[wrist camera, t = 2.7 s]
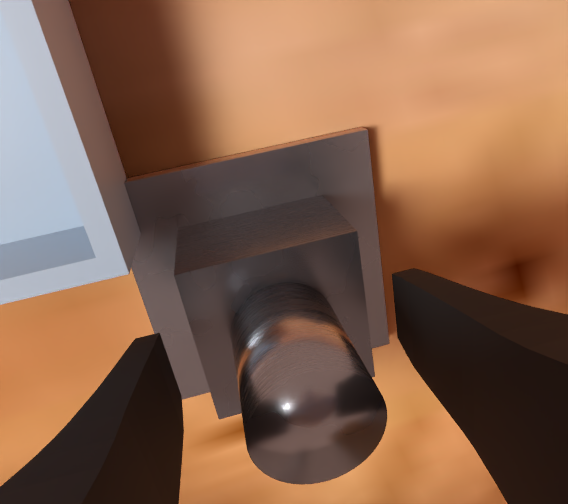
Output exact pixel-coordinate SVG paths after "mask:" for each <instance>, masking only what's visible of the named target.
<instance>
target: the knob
mask: <svg viewBox="0 0 568 504" xmlns="http://www.w3.org/2000/svg"><path fill="white" fill-rule="evenodd" d="M174 277H175V280H176V284H177V287H178V290H179V293H180V296H181V300H182V303H183V306H184V309H185V312H186V316H187V319H188V322H189V325H190V328H191V332H192V335H193V338H194V341H195V344H196V348H197V351H198V354H199V357H200V360H201V364H202V367H203V370H204V373H205V376H206V380H207V383H208V386H209V389H210V392H211V396H212V399H213V402H214V405H215V408H216V412H217V415H218V418H219V419H222V418H226V417H230V416H233V415H237V414H240V413H242V418H243V425H244V432H245V439H246V445H247V450H248V453H249V455H250V458H251V459H252V461H253V463H254V464H255V465H256V466H257V467H258V468H259V469H260V470H261V471H262V472H263V473H265V474H266V475H268V476H270V477H271V478H274V479H276V480H279V481H282V482H286V483H292V484H314V483H320V482H324V481H328V480H331V479H334V478H337V477H339V476H341V475H343V474H345V473H347V472H349V471H351V470H352V469H354V468H355V467H357V466H358V465H360V464H361V463H362V462H363V461H364V460H365V459H367V458H368V456H369V455H370V454H371V453H372V452H373V451H374V449H375V448H376V447H377V445H378V444H379V442H380V440H381V438H382V436H383V434H384V431H385V427H386V422H387V409H386V404H385V401H384V399H383V396H382V395H381V393H380V391H379V389H378V388H377V386H376V384H375V382H374V381H373V379H372V377H375V372H374V364H373V356H372V348H371V339H370V331H369V323H368V315H367V306H366V298H365V290H364V282H363V273H362V265H361V257H360V249H359V240H358V232H357V230H356V229H355V228H354V227H353V226H352V225H351V224H350V223H349V222H348V221H347V220H346V219H345V218H344V217H343V216H342V215H341V214H340V213H339V212H338V211H337V210H336V209H335V208H334V207H333V206H332V204H331V203H330V202H329V201H328V200H327V199H326V198H325V197H324V196H323V195H319V196H315V197H310V198H306V199H302V200H297V201H293V202H289V203H284V204H280V205H276V206H272V207H267V208H263V209H259V210H254V211H250V212H246V213H241V214H237V215H233V216H228V217H224V218H220V219H215V220H211V221H207V222H202V223H198V224H194V225H190V226H185V227H181V228H178V231H177V243H176V256H175V268H174Z"/></svg>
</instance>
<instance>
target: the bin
mask: <svg viewBox="0 0 568 504" xmlns="http://www.w3.org/2000/svg"><path fill="white" fill-rule="evenodd" d="M125 180H126V175H125V171H124V168H123V165H122V162H121V159H120V156H119V153H118V150H117V147H116V144H115V141H114V138H113V135H112V132H111V129H110V126H109V123H108V120H107V117H106V114H105V111H104V107H103V104H102V101H101V98H100V95H99V92H98V89H97V86H96V83H95V80H94V77H93V74H92V71H91V68H90V65H89V62H88V59H87V56H86V53H85V50H84V46H83V43H82V40H81V37H80V34H79V31H78V28H77V25H76V22H75V19H74V16H73V13H72V10H71V7H70V4H69V1H68V0H0V305H1V304H5V303H9V302H14V301H18V300H22V299H26V298H30V297H34V296H39V295H43V294H47V293H51V292H55V291H60V290H64V289H68V288H72V287H76V286H80V285H85V284H89V283H93V282H97V281H101V280H106V279H110V278H114V277H118V276H122V275H126V274H129V272H130V269H131V266H132V262H133V259H134V255H135V252H136V248H137V245H138V242H139V238H140V235H141V233H140V230H139V227H138V224H137V220H136V217H135V214H134V211H133V208H132V205H131V202H130V199H129V196H128V193H127V190H126V187H125V184H124V182H125Z"/></svg>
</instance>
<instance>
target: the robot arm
mask: <svg viewBox="0 0 568 504" xmlns="http://www.w3.org/2000/svg"><path fill="white" fill-rule="evenodd" d="M392 280H393V291H394V302H395V313H396V324H397V335H398V339H399V341H400V343H401V345H402V346H403V348H404V350H405V352H406V354H407V356H408V357H409V359H410V361H411V363H412V364H413V366H414V368H415V369H416V370H417V372H418V373H419V375H420V376H421V377H422V379H423V380H424V381H425V383H426V384H427V385H428V387H429V388H430V389H431V391H432V392H433V393H434V395H435V396H436V397H437V398H438V400H439V401H440V402H441V404H442V405H443V406H444V408H445V409H446V410H447V412H448V413H449V414H450V415H451V417H452V418H453V419H454V421H455V422H456V423H457V425H458V426H459V427H460V429H461V430H462V431H463V432H464V434H465V435H466V437H467V438H468V440H469V441H470V443H471V444H472V445H473V447H474V448H475V450H476V452H477V453H478V455H479V456H480V458H481V460H482V461H483V463H484V465H485V466H486V468H487V470H488V471H489V473H490V474H491V476H492V478H493V479H494V481H495V483H496V484H497V486H498V488H499V490H500V491H501V493H502V495H503V496H504V498H505V500H506V502H507V503H508V504H568V315H567V314H562V313H558V312H553V311H549V310H544V309H540V308H535V307H531V306H527V305H523V304H520V303H516V302H513V301H510V300H506V299H503V298H499V297H496V296H493V295H490V294H487V293H484V292H481V291H478V290H475V289H472V288H469V287H466V286H464V285H461V284H458V283H455V282H453V281H450V280H447V279H444V278H442V277H439V276H436V275H433V274H431V273H428V272H425V271H422V270H418V269H414V268H413V269H409V270H405V271H401V272H397V273H393V274H392ZM183 434H184V428H183V410H182V396H181V393H180V390H179V387H178V384H177V381H176V378H175V375H174V373H173V370H172V367H171V364H170V361H169V358H168V355H167V352H166V350H165V347H164V344H163V341H162V338H161V335H160V333H156V334H152V335H148V336H144V337H141V338H137V339H135V340H134V341H133V342H132V344H131V345H130V346H129V348H128V349H127V350H126V352H125V353H124V354H123V356H122V357H121V358H120V360H119V361H118V362H117V364H116V365H115V367H114V368H113V369H112V370H111V372H110V373H109V374H108V376H107V377H106V378H105V380H104V381H103V382H102V384H101V385H100V386H99V387H98V389H97V390H96V391H95V392H94V394H93V395H92V396H91V397H90V398H89V399H88V401H87V402H86V403H85V404H84V405H83V407H82V408H81V409H80V410H79V411H78V412H77V414H76V415H75V416H74V417H73V418H72V419H71V421H70V422H69V423H68V424H67V425H66V426H65V427H64V428H63V429H62V430H61V431H60V432H59V433H58V434H57V436H56V437H55V438H54V439H53V440H52V441H51V442H49V443H48V444H47V445H46V446H45V447H44V448H43V449H42V450H41V451H40V452H39V453H38V454H37V455H36V456H35V457H34V458H33V459H32V460H31V461H30V462H29V463H27V464H26V465H25V466H24V467H23V468H22V469H20V470H19V471H18V472H17V473H16V474H15V475H14V476H12V477H11V478H10V479H9V480H8V481H7V482H5V483H4V484H3V485H2V486H1V487H0V504H179V490H180V477H181V464H182V449H183Z"/></svg>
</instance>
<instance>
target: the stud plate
mask: <svg viewBox="0 0 568 504" xmlns="http://www.w3.org/2000/svg"><path fill="white" fill-rule="evenodd" d="M124 184H125V187H126V190H127V193H128V196H129V199H130V202H131V205H132V208H133V211H134V214H135V217H136V220H137V224H138V227H139V230H140V233H141V235H140V238H139V242H138V245H137V248H136V252H135V255H134V259H133V262H132V266H131V268H132V271H133V274H134V276H135V279H136V282H137V285H138V288H139V291H140V293H141V296H142V299H143V302H144V305H145V308H146V310H147V313H148V316H149V319H150V322H151V325H152V328H153V330H154V333H155V334H156V333H160V335H161V338H162V341H163V344H164V347H165V350H166V352H167V355H168V358H169V361H170V364H171V367H172V370H173V373H174V375H175V378H176V381H177V384H178V387H179V390H180V393H181V396H182V399H186V398H189V397H193V396H197V395H201V394H204V393H208V392H210V389H209V386H208V383H207V380H206V376H205V373H204V370H203V367H202V364H201V360H200V357H199V354H198V351H197V348H196V344H195V341H194V338H193V335H192V332H191V328H190V325H189V322H188V319H187V316H186V312H185V309H184V306H183V303H182V300H181V296H180V293H179V290H178V287H177V284H176V280H175V277H174V268H175V256H176V243H177V231H178V228H181V227H185V226H190V225H194V224H198V223H202V222H207V221H211V220H215V219H220V218H224V217H228V216H233V215H237V214H241V213H246V212H250V211H254V210H259V209H263V208H267V207H272V206H276V205H280V204H284V203H289V202H293V201H297V200H302V199H306V198H310V197H315V196H319V195H323V196H324V197H325V198H326V199H327V200H328V201H329V202H330V203H331V204H332V206H333V207H334V208H335V209H336V210H337V211H338V212H339V213H340V214H341V215H342V216H343V217H344V218H345V219H346V220H347V221H348V222H349V223H350V224H351V225H352V226H353V227H354V228H355V229H356V230H357V232H358V240H359V249H360V257H361V265H362V273H363V282H364V290H365V298H366V306H367V315H368V323H369V331H370V339H371V348H376V347H379V346H383V345H387V344H389V335H388V325H387V315H386V305H385V295H384V285H383V275H382V265H381V256H380V246H379V236H378V226H377V216H376V206H375V196H374V186H373V177H372V167H371V157H370V147H369V137H368V129H365V128H363V127H358V128H354V129H349V130H344V131H340V132H335V133H331V134H326V135H322V136H317V137H312V138H308V139H303V140H299V141H294V142H290V143H285V144H280V145H276V146H271V147H267V148H262V149H258V150H253V151H248V152H244V153H239V154H235V155H230V156H225V157H221V158H216V159H212V160H207V161H203V162H198V163H193V164H189V165H184V166H180V167H175V168H171V169H166V170H161V171H157V172H152V173H148V174H143V175H139V176H134V177H129V178H126V180H125V182H124Z"/></svg>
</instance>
